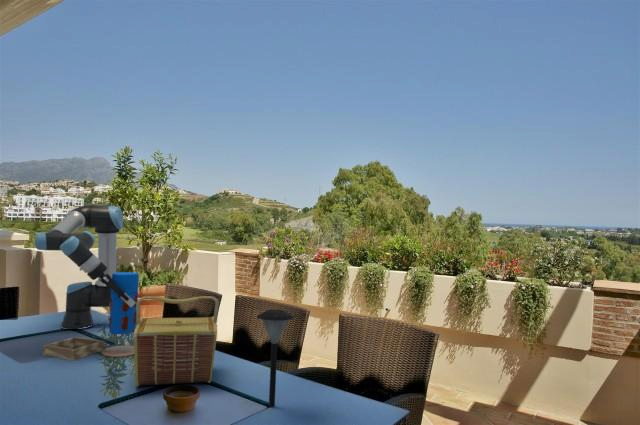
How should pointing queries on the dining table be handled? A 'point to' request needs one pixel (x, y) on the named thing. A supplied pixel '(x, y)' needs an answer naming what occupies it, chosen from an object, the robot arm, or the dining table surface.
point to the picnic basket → (174, 347)
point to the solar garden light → (274, 341)
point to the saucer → (118, 351)
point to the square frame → (63, 351)
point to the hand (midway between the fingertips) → (131, 302)
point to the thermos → (123, 304)
